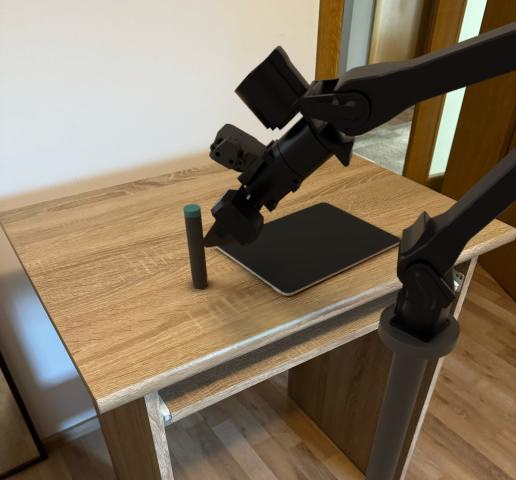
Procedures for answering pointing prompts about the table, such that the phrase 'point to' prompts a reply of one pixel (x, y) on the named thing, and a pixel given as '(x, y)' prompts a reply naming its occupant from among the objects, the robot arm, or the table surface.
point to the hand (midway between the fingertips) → (215, 228)
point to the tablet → (309, 247)
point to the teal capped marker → (196, 245)
